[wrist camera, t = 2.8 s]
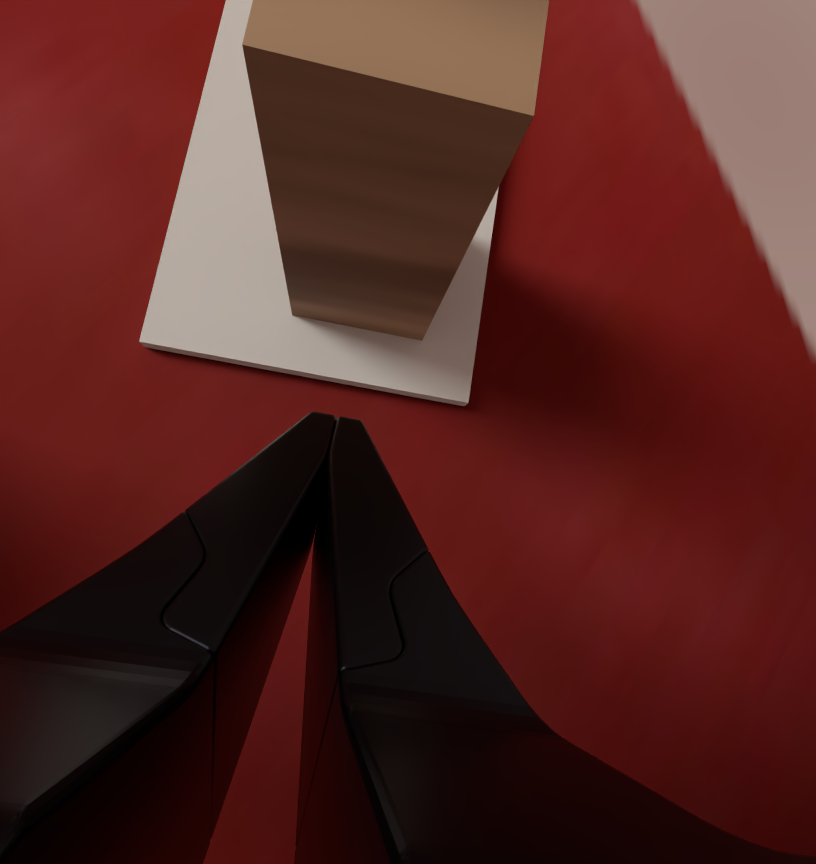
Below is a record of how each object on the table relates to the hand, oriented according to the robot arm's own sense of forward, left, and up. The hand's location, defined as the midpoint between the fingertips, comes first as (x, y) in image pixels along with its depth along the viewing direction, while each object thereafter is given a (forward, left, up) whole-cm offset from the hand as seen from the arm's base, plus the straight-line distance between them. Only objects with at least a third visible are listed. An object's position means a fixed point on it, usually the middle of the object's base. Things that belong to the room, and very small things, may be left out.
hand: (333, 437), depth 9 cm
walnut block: (+7, -1, -9) cm, 12 cm away
